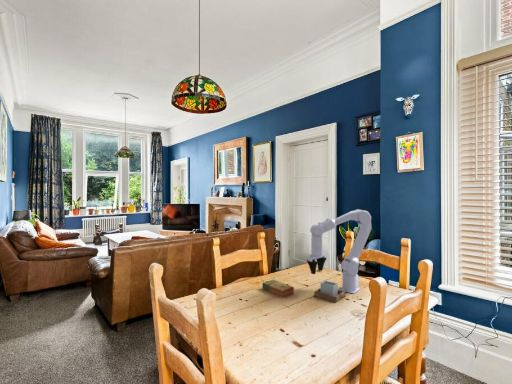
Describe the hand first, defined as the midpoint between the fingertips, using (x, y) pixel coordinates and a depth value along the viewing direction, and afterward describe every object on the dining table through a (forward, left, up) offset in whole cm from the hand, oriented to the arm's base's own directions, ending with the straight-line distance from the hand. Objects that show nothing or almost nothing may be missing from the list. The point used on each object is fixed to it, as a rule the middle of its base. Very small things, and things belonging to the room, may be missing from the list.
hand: (316, 272), depth 147 cm
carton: (+15, -15, -10) cm, 24 cm away
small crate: (+3, +9, -9) cm, 13 cm away
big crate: (+3, +9, -10) cm, 14 cm away
